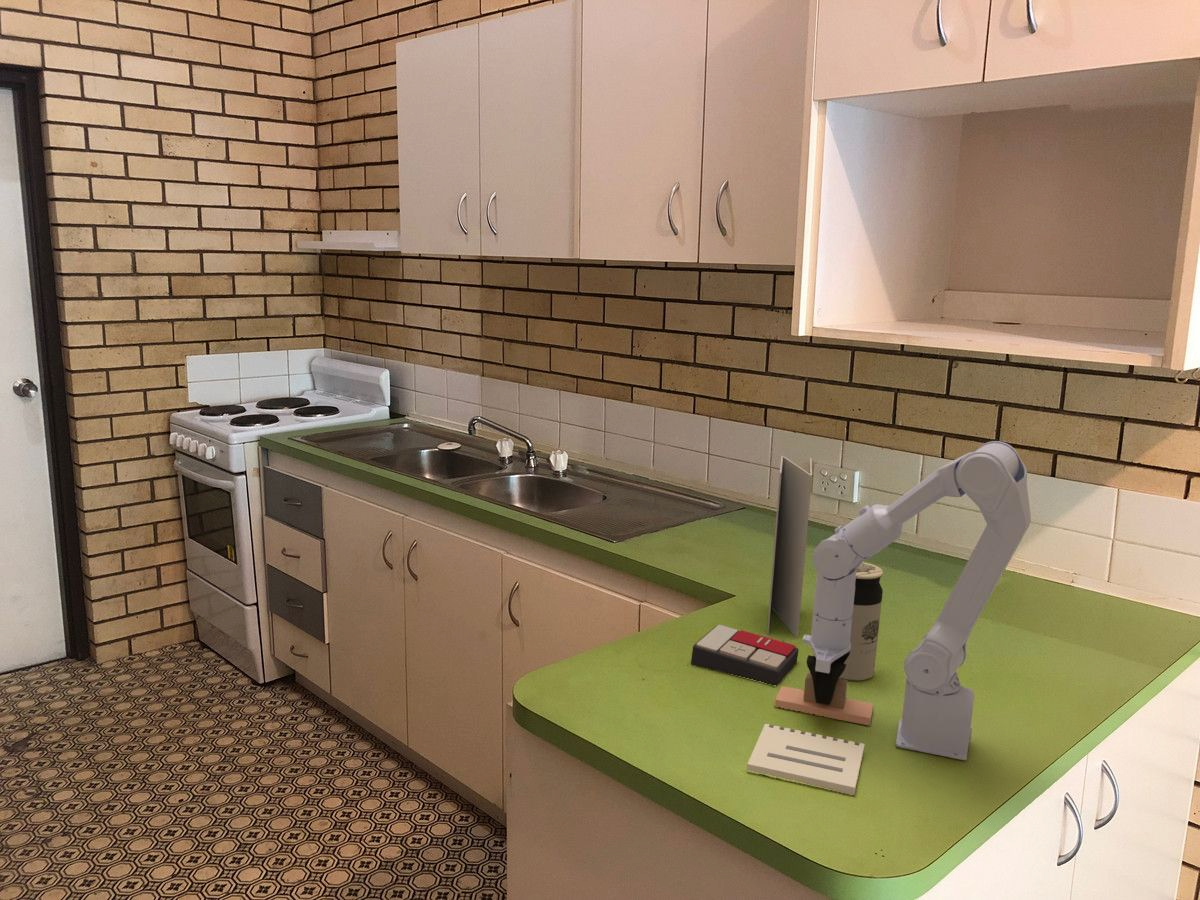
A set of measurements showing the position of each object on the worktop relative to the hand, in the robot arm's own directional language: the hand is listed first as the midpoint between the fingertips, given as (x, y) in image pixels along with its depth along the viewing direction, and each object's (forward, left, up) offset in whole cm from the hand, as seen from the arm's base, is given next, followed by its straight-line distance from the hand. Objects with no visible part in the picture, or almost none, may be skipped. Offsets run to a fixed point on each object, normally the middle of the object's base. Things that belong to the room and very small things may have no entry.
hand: (824, 697), depth 148 cm
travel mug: (-2, -15, -2) cm, 16 cm away
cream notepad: (0, +17, -2) cm, 17 cm away
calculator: (+15, -11, -3) cm, 19 cm away
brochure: (+12, -32, -2) cm, 35 cm away
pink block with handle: (0, 0, -2) cm, 2 cm away
